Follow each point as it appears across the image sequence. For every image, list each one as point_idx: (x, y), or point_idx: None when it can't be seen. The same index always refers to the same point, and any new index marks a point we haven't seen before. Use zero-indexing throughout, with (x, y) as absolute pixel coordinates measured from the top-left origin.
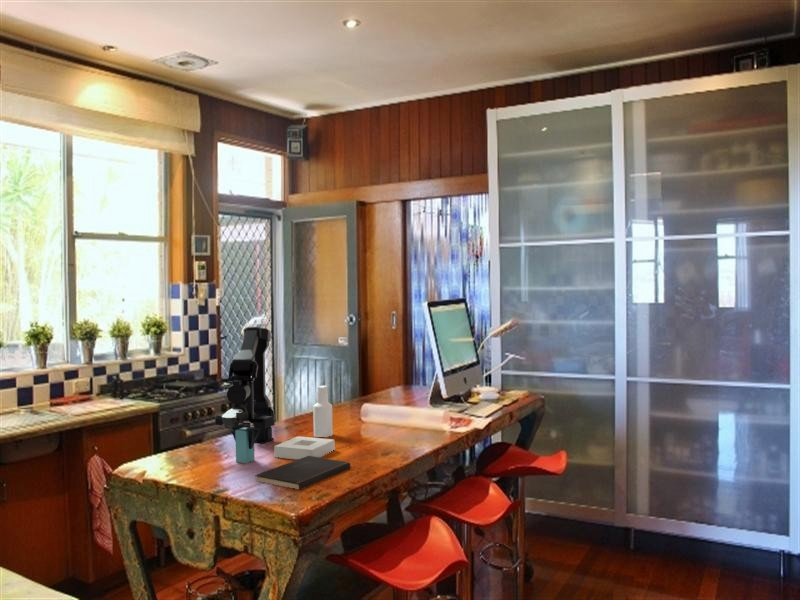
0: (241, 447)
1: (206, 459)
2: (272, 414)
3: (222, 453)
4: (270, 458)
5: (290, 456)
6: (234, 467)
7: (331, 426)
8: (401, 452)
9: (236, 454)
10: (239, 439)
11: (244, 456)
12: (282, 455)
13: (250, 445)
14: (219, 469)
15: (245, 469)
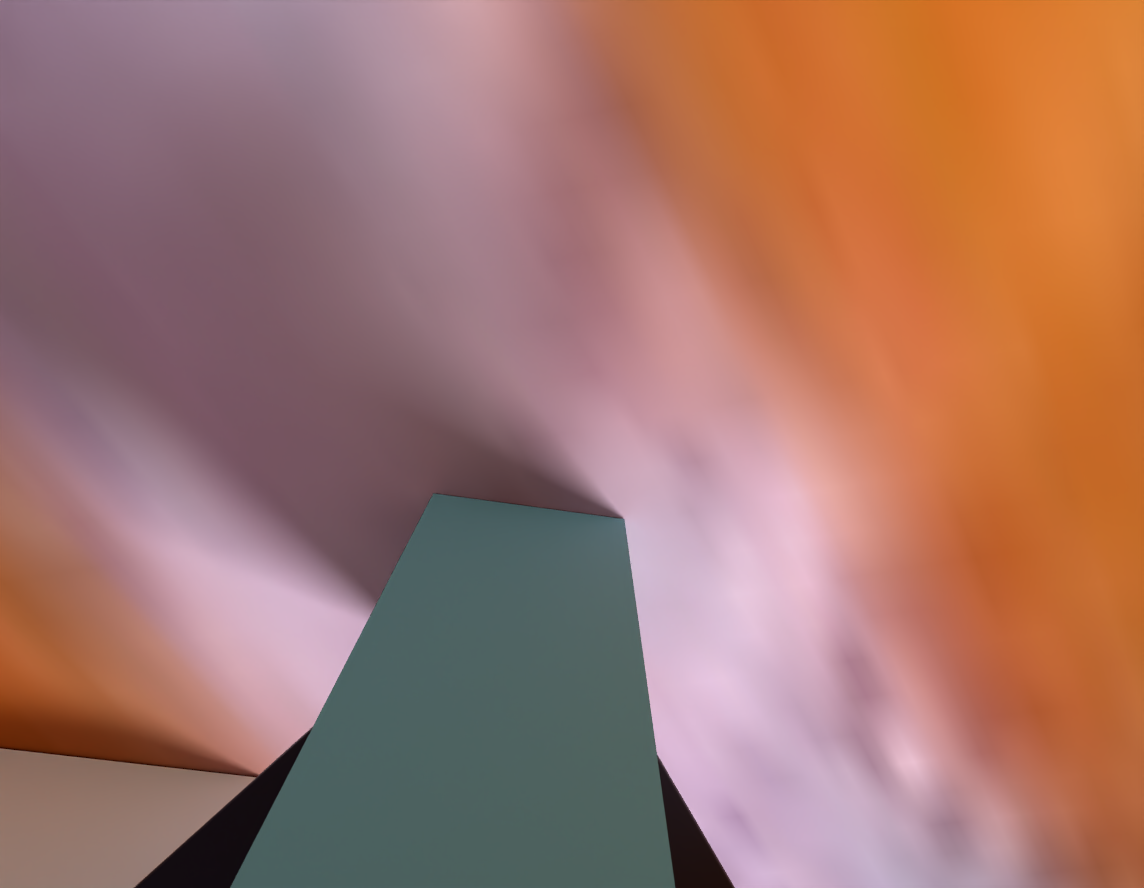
0: (488, 677)
1: (1132, 567)
2: None
3: (982, 811)
4: (274, 732)
5: (1, 778)
6: (495, 254)
7: None
8: None
9: (618, 585)
10: (522, 875)
11: (449, 553)
12: (121, 793)
13: (288, 757)
14: (700, 66)
15: (237, 176)
